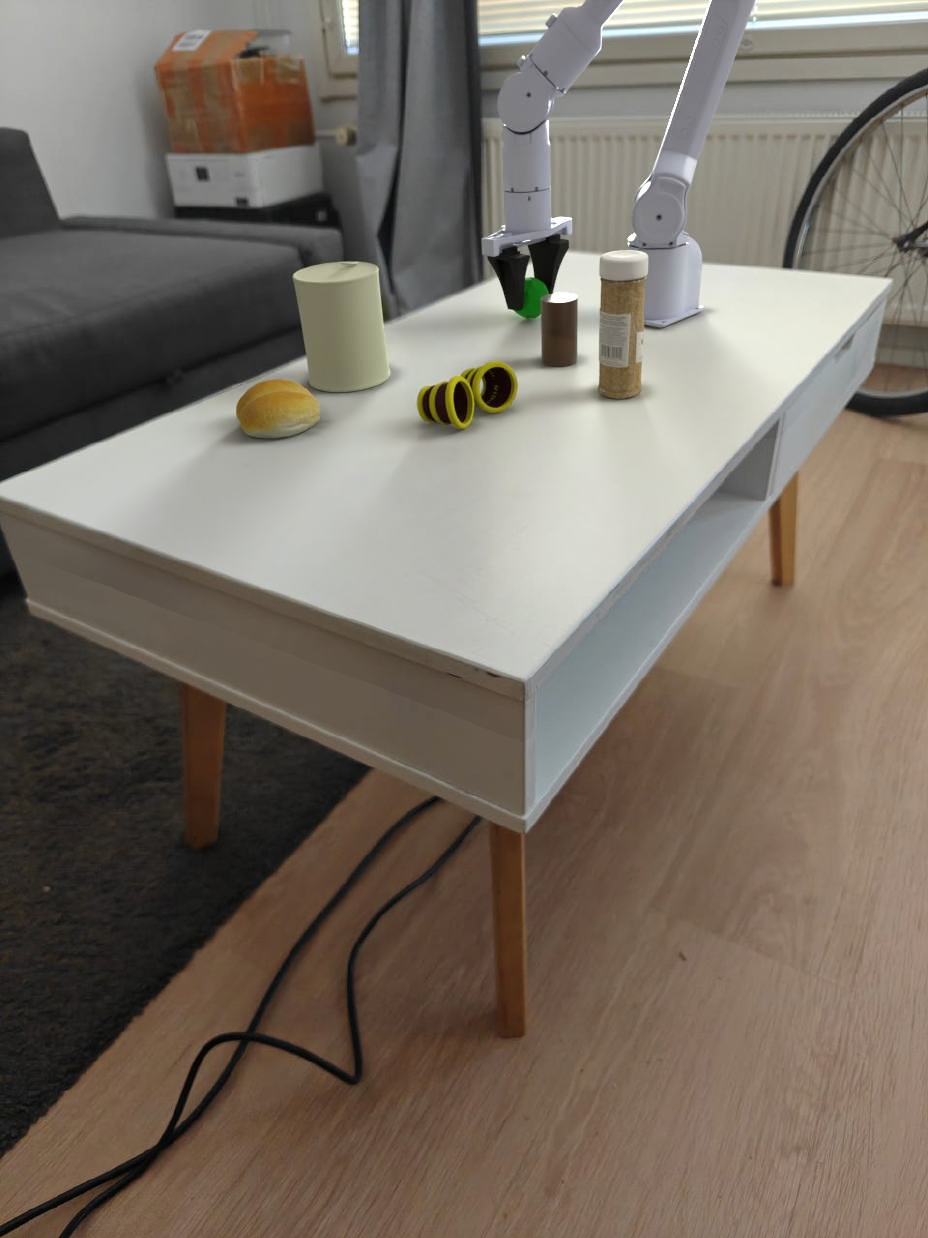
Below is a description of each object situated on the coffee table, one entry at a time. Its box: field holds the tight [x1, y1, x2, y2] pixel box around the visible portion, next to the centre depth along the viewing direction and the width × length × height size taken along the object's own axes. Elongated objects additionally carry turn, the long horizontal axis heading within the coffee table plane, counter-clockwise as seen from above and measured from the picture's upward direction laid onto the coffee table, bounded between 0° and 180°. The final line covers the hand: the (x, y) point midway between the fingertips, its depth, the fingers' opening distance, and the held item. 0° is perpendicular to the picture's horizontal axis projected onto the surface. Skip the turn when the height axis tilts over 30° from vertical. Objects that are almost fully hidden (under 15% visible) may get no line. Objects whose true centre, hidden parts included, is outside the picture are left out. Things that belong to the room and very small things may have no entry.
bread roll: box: [235, 378, 322, 439], centre depth 89 cm, size 8×9×4 cm
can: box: [292, 261, 392, 393], centre depth 97 cm, size 9×9×12 cm
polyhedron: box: [513, 276, 549, 320], centre depth 114 cm, size 5×5×5 cm
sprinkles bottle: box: [597, 249, 648, 400], centre depth 88 cm, size 5×5×13 cm
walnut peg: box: [540, 292, 579, 368], centre depth 99 cm, size 4×4×7 cm
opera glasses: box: [416, 360, 519, 430], centre depth 87 cm, size 10×5×5 cm, turn 136°
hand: (530, 304), depth 115 cm, fingers closed on polyhedron, 5 cm apart
